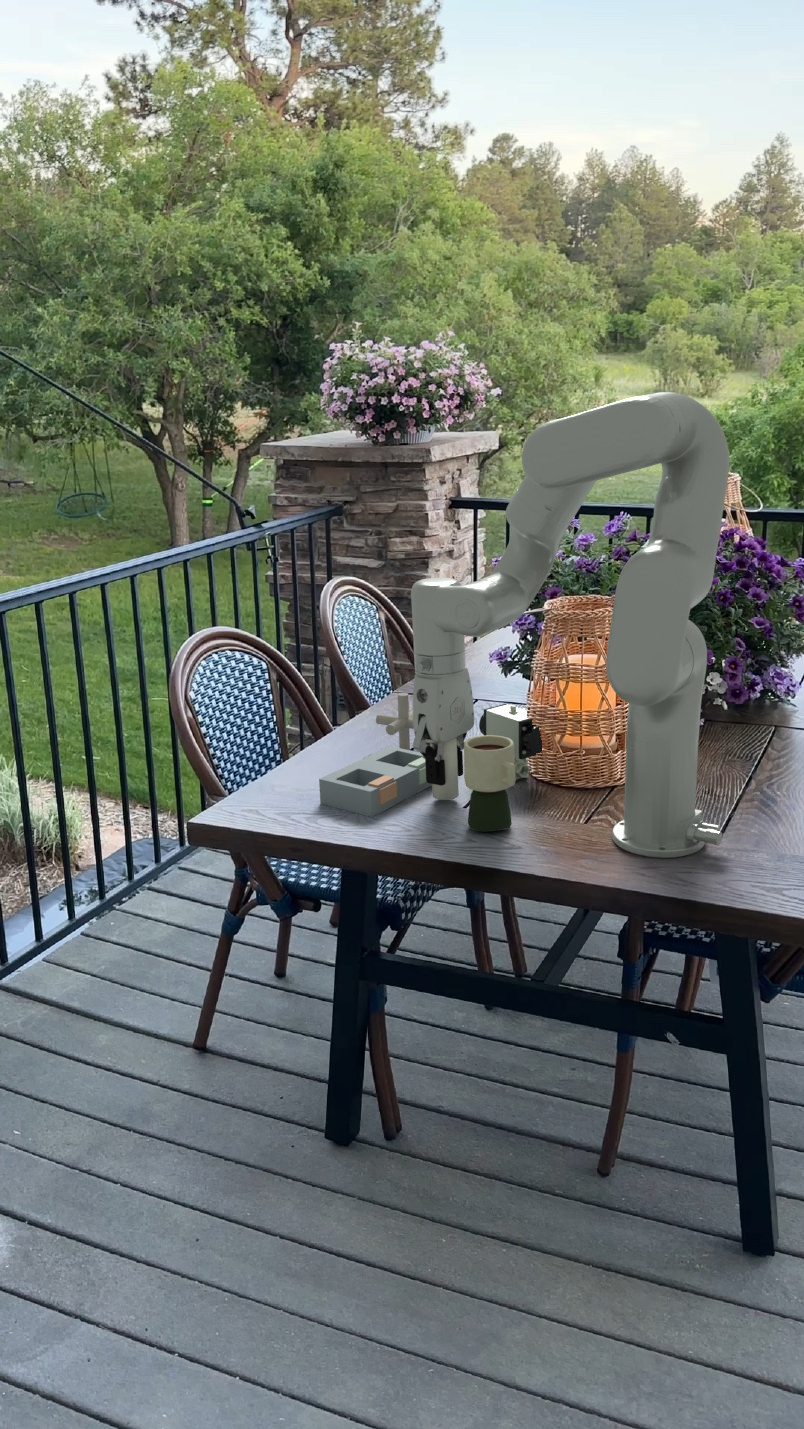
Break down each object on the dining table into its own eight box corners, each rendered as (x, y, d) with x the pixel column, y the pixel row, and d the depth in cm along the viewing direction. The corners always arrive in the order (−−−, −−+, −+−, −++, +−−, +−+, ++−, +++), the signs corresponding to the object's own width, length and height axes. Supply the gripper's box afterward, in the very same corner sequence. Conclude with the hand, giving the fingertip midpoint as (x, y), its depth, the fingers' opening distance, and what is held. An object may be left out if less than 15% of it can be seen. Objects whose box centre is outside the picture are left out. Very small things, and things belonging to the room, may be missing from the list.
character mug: (533, 833, 166) (533, 747, 162) (494, 846, 162) (493, 758, 158) (485, 810, 174) (484, 728, 170) (447, 822, 170) (445, 738, 166)
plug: (463, 793, 178) (461, 725, 175) (448, 801, 175) (445, 732, 172) (442, 789, 181) (439, 721, 178) (427, 797, 178) (424, 728, 174)
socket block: (442, 780, 187) (442, 755, 185) (372, 817, 173) (371, 790, 172) (391, 769, 193) (390, 744, 191) (320, 803, 179) (318, 777, 178)
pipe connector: (443, 744, 204) (442, 689, 201) (417, 762, 195) (415, 705, 192) (392, 737, 208) (391, 683, 205) (365, 754, 200) (363, 698, 197)
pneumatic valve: (527, 790, 182) (527, 717, 178) (478, 771, 191) (477, 700, 187) (553, 782, 185) (553, 709, 181) (503, 763, 194) (503, 694, 190)
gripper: (427, 678, 163) (433, 800, 169) (492, 652, 176) (495, 766, 181) (385, 672, 168) (392, 791, 173) (451, 647, 181) (455, 759, 186)
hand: (444, 777), depth 177 cm, fingers closed on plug, 4 cm apart
